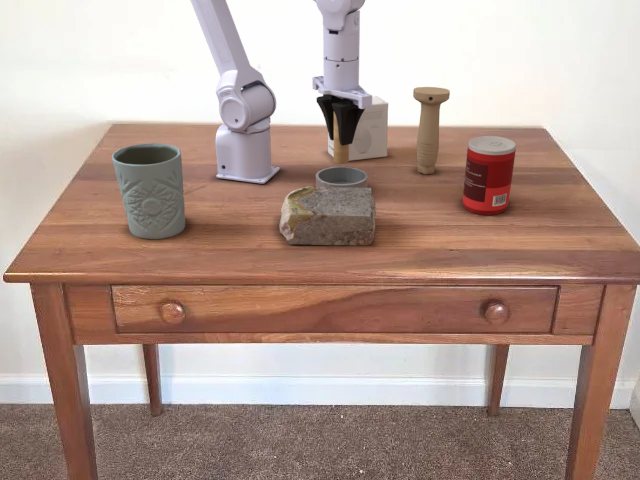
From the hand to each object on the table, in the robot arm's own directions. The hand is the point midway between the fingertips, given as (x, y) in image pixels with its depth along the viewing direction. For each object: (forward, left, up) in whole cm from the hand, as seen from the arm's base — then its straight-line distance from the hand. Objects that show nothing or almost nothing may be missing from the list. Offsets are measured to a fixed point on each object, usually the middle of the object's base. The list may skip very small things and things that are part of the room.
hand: (341, 141), depth 126 cm
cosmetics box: (-3, +20, -9) cm, 22 cm away
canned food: (+25, +2, -9) cm, 27 cm away
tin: (0, 0, -9) cm, 9 cm away
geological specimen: (+3, -16, -9) cm, 19 cm away
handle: (+12, +15, -9) cm, 21 cm away
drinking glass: (-23, -23, -9) cm, 34 cm away
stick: (0, 0, -3) cm, 3 cm away
